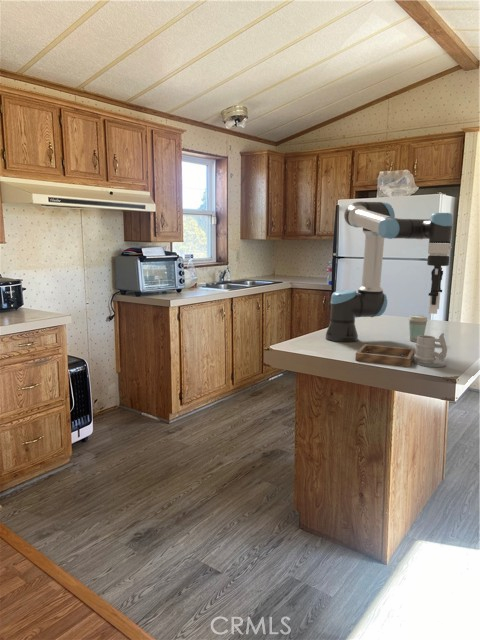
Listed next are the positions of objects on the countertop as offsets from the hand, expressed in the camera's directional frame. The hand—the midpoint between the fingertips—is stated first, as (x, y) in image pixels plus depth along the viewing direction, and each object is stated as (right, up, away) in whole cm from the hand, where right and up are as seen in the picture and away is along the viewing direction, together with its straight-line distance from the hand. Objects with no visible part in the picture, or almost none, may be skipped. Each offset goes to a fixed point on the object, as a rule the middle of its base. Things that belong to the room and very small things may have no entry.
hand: (434, 311), depth 183 cm
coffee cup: (+10, -14, +46) cm, 49 cm away
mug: (0, -20, +3) cm, 20 cm away
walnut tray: (-15, -19, +11) cm, 27 cm away
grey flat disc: (0, -20, +3) cm, 21 cm away
